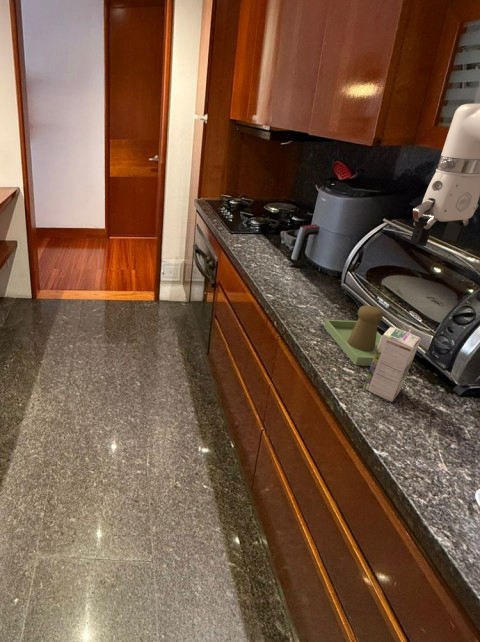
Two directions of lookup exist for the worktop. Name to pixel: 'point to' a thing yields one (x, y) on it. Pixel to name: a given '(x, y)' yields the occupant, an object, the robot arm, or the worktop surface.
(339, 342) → the spice tray
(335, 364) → the worktop surface
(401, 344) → the syrup box
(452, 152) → the robot arm
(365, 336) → the cork
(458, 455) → the worktop surface
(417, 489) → the worktop surface
